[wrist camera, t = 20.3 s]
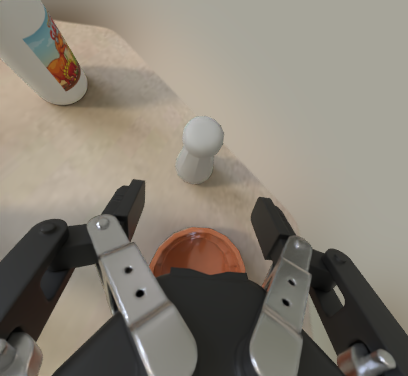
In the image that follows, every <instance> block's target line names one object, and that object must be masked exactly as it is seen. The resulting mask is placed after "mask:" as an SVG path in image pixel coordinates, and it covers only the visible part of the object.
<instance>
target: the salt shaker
mask: <svg viewBox="0 0 408 376" xmlns="http://www.w3.org/2000/svg"><path fill="white" fill-rule="evenodd" d="M223 137H224V132H223V130H222V128H221V125H220V124H219V123H218V122H217V121H216V120H215V119H212V118H209V117H207V116H197V117H195V118H193V119H191V120H190V121H189V122H188V123H187V125H186V126H185V128H184V131H183V143H184V146H183V148H182V150H181V152H180V153H179V155H178V157H177V159H176V166H175V167H176V170H177V173H178V176H179V177H180V178H181V179H182V180H183V181H185V182H187V183H190V184H200V183H202V182H204V181H205V180H207V179H208V178H209V177H210V175H211V173H212V171H213V161H214V155H215V154H217V153H218V151H219V150H220V148H221V146H222V145H223Z"/></svg>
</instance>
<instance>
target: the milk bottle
mask: <svg viewBox="0 0 408 376" xmlns="http://www.w3.org/2000/svg"><path fill="white" fill-rule="evenodd" d="M0 59H1V60H2V61H3V62H4V63H5V64H6V65H7V66H9V67H10V68H11V69H12V70H13V71H14V72H15V73H16V74H17V75H18V76H19V77H20V78H21V79H22V80H23V81H24V82H25V83H26V84H27V85H28V86H29V87H30V88H31V89H32V90H34V91H35V92H36V93H37V94H38V95H39V96H40V97H41V98H42V99H44V100H46V101H47V102H50V103H53V104H57V105H68V104H72V103H74V102H76V101H78V100H80V99H81V98H82V97H83V96H84V94H85V93H86V91H87V78H86V76H85V74H84V72H83V70H82V68H81V67H80V65H79V63H78V62H77V60H76V58H75V56H74V55H73V53H72V51H71V50H70V48H69V46H68V45H67V43H66V41H65V40H64V38H63V36H62V35H61V33H60V31H59V30H58V28H57V26H56V25H55V23H54V21H53V20H52V18H51V16H50V15H49V13H48V12H47V10H46V8H45V7H44V5H43V4H42V2H41V0H0Z"/></svg>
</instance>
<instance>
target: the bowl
mask: <svg viewBox="0 0 408 376" xmlns="http://www.w3.org/2000/svg"><path fill="white" fill-rule="evenodd" d="M171 267H178V268H190V269H193V270H196V271H199V272H202V273H205V274H209V275H213V274H218V273H224V272H239V273H245V266H244V264H243V261H242V258H241V255H240V252H239V250H238V249H237V248H236V247H235V246H234V244H233V243H232V242H231V241H230V240H229V239H228V238H227V237H226V236H225V235H223V234H221V233H219V232H217V231H215V230H213V229H210V228H195V227H188V228H186V229H183V230H180V231H177V232H174V233H173V234H172V235H171V236H170V237H169V238H167V239H166V240H165V241H164V242H163V243H162V244H161V245H160V246H159V248H158V250H157V252H156V253H155V255H154V257H153V259H152V261H151V263H150V265H149V268H150V269H151V271H152V273H153V274H154V276H155V278H156V277H158V276H161V275H164V274H168V273H170V269H171Z"/></svg>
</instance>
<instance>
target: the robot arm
mask: <svg viewBox="0 0 408 376" xmlns="http://www.w3.org/2000/svg"><path fill="white" fill-rule="evenodd" d="M144 203H145V181H143V180H136V179H133V180H132V182H131V183H130V185H129V186H122V187H120V188H119V189H117V191H116V192H115V194H114V196H113V197H112V199H111V200H110V202H109V203H108V205H107V206H106V208H105V209H104V211H103V212H102V214H101V215H98V216H95V217H93V218H92V219H91V220H89V222H88V223H87V224H83V225H75V226H67V223H66V222H65V221H63V220H60V219H50V220H46V221H43V222H40V223H38V224H36V225H35V226H34V227H32V228H31V229H30V231H29V232H28V233H27V234H26V235H25V236H24V237H23V238H22V239H21V240H20V241H19V242H18V243H17V245H16V246H15V247H14V248H13V249H12V250H11V251H10V252H9V253H8V254H7V255H6V256H5V257H4V259H3V260H2V261H1V262H0V376H38V373H39V370H40V367H41V364H42V360H43V354H42V351H41V349H40V347H39V346H38V345H37V344H36V341H37V339H38V337H39V336H40V334H41V332H42V330H43V328H44V326H45V324H46V322H47V320H48V319H49V317H50V315H51V313H52V311H53V309H54V307H55V305H56V303H57V302H58V300H59V298H60V296H61V294H62V292H63V290H64V288H65V287H66V285H67V283H68V281H69V279H70V277H71V275H72V273H73V271H74V270H75V268H76V267H82V266H87V265H92V264H95V267H96V269H97V272H98V275H99V278H100V280H101V283H102V286H103V289H104V292H105V295H106V299H107V302H108V305H109V308H110V311H111V314H112V317H111V318H110V319H109V320H108V321H107V322H106V323H105V324H104V325H103V326H102V327H101V328H100V329H99V330H98V331H97V332H96V333H95V334H94V335H93V336H91V337H90V338H89V339H88V340H87V341H86V342H85V343H84V344H83V345H82V346H81V347H80V348H79V349H78V350H77V351H76V352H75V353H74V354H73V355H72V356H71V357H70V358H69V359H68V360H66V361H65V362H64V363H63V364H62V365H61V366H60V367H59V368H58V369H57V370H56V371H55V372H54V374H53V375H52V376H408V336H407V334H406V333H405V331H404V330H403V329H402V327H401V326H400V325H399V323H398V322H397V321H396V319H395V318H394V317H393V316H392V314H391V313H390V311H389V310H388V309H387V308H386V306H385V305H384V303H383V302H382V301H381V299H380V298H379V297H378V295H377V294H376V293H375V291H374V290H373V289H372V287H371V286H370V285H369V283H368V282H367V281H366V279H365V278H364V277H363V275H362V274H361V273H360V271H359V270H358V269H357V267H356V266H355V265H354V263H353V262H352V261H351V259H350V258H349V257H348V256H347V255H345V254H344V253H342V252H340V251H339V250H336V249H328V250H327V251H326V252H325V253H322V252H319V251H316V250H314V249H312V247H311V245H310V244H309V243H308V242H307V241H306V240H305V239H303V238H301V237H299V236H296V234H295V232H294V231H293V229H292V227H291V226H290V224H289V222H287V219H286V217H285V216H284V214H283V212H282V211H281V210H280V209H279V208H278V207H277V206H275V205H274V204H273V202H272V200H271V199H270V198H264V197H259V198H258V199H257V202H256V204H255V206H254V209H253V211H252V214H251V222H252V225H253V228H254V231H255V233H256V236H257V239H258V242H259V245H260V247H261V250H262V253H263V256H264V258H265V260H272V261H273V263H272V265H271V267H270V269H269V271H268V274H267V276H266V278H265V280H264V283H263V285H262V287H261V286H259V285H258V284H256V283H255V282H253V281H250V280H248V277H247V273H239V272H224V273H218V274H213V275H209V274H205V273H202V272H199V271H196V270H193V269H190V268H178V267H171V269H170V273H168V274H164V275H161V276H158V277H156V278H155V276H154V274H153V273H152V271H151V269H150V268H149V266H148V264H147V262H146V261H145V259H144V257H143V256H142V254H141V252H140V250H139V249H138V247H137V245H136V244H135V243H134V242H132V243H130V242H131V240H132V237H133V234H134V232H135V229H136V226H137V224H138V221H139V218H140V216H141V213H142V211H143V208H144ZM336 285H337V286H338V287H339V289H340V291H341V292H342V294H343V296H344V299H345V305H344V307H343V305H342V304H341V302H340V300H339V298H338V296H337V295H336V293H335V291H334V289H333V288H334V287H335V286H336ZM308 293H309V294H310V296H311V298H312V301H313V303H314V305H315V307H316V310H317V312H318V314H319V316H320V319H321V321H322V323H323V325H324V328H325V330H326V332H327V334H328V336H329V339H330V341H331V343H332V345H333V348H334V350H335V352H336V354H337V365H338V366H337V365H336V364H335V363H334V362H333V361H332V360H331V359H330V358H329V357H328V356H327V355H326V354H325V353H324V351H323V350H322V349H321V348H320V347H319V346H318V345H317V344H316V343H315V342H314V341H313V340H312V339H311V338H310V337H309V336H308V335H307V333H306V332H305V331H304V330H303V329H302V325H303V320H304V315H305V309H306V304H307V299H308Z"/></svg>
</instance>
